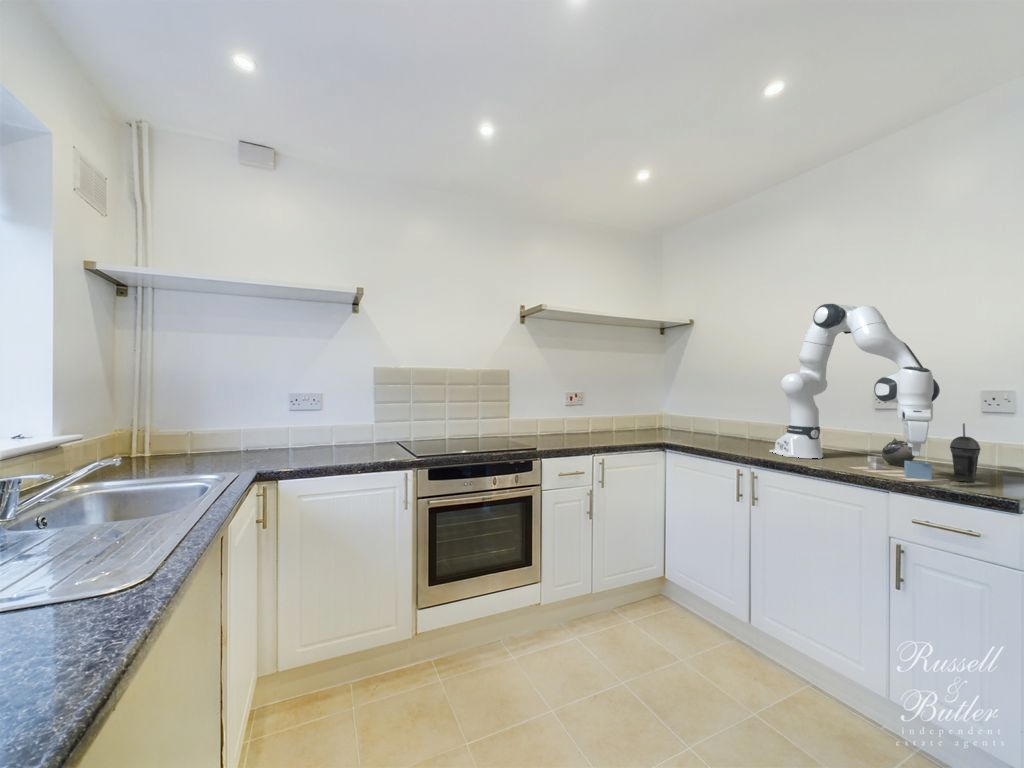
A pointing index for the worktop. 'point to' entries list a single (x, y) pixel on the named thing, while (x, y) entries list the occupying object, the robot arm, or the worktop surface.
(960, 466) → the beverage cup
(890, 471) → the assembly board
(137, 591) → the worktop surface
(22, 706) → the worktop surface
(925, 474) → the collar
